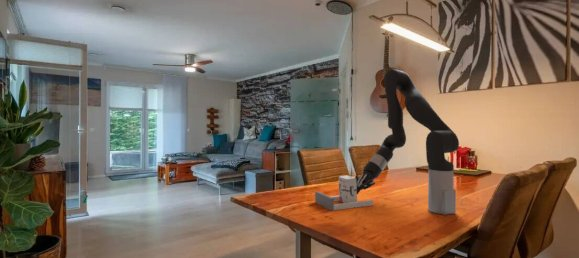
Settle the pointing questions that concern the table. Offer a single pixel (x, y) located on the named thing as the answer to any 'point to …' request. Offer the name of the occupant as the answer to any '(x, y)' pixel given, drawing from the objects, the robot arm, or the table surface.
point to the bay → (329, 201)
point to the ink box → (347, 189)
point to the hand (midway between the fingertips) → (353, 194)
